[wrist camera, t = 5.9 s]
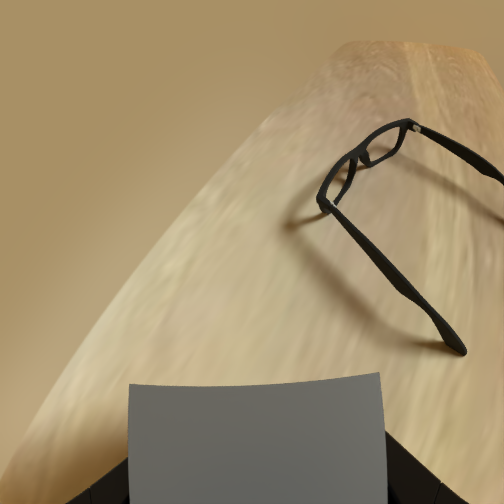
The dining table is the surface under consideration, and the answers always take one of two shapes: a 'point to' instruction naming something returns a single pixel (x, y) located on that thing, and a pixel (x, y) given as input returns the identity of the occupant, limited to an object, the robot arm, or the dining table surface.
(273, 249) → the dining table surface
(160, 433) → the block
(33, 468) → the dining table surface
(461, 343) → the glasses
